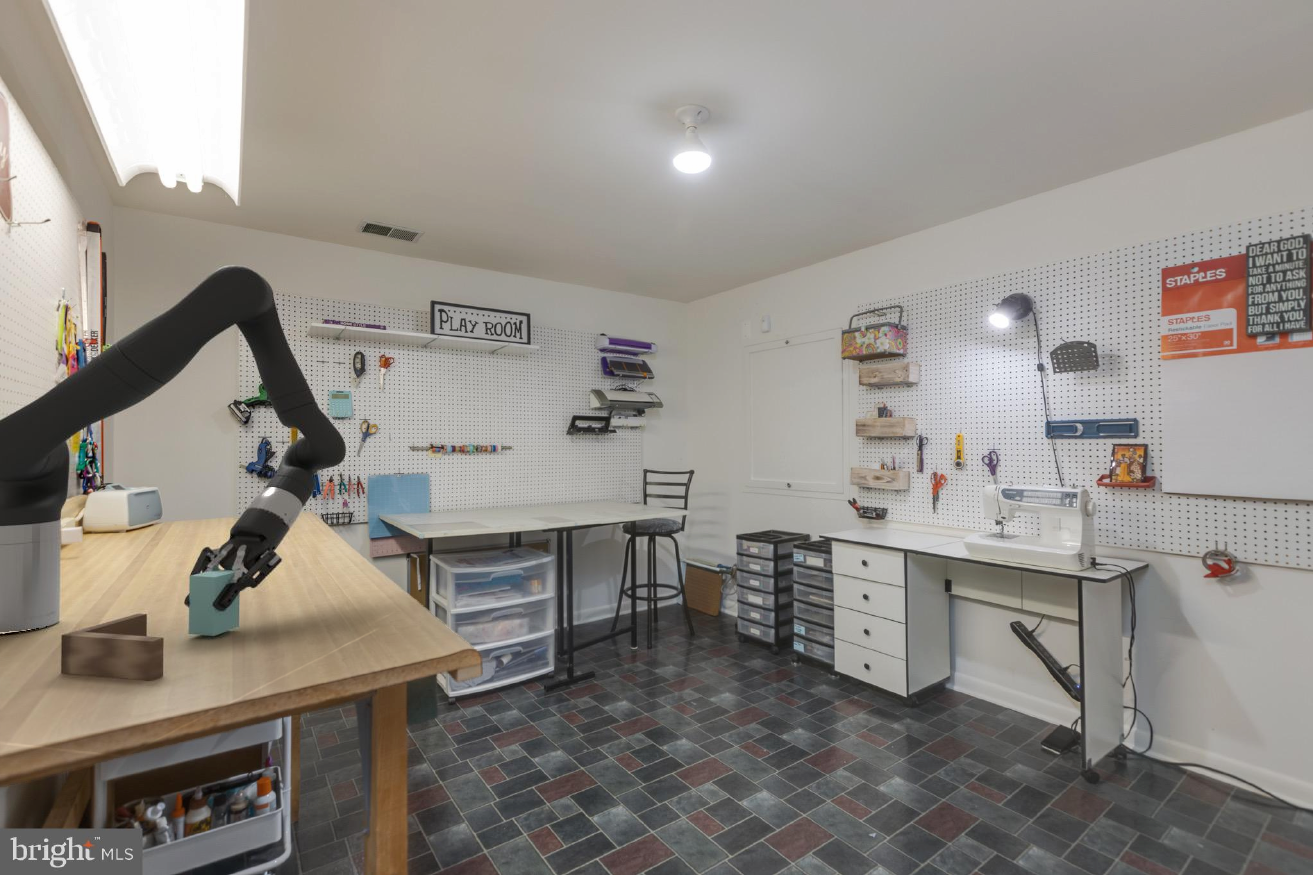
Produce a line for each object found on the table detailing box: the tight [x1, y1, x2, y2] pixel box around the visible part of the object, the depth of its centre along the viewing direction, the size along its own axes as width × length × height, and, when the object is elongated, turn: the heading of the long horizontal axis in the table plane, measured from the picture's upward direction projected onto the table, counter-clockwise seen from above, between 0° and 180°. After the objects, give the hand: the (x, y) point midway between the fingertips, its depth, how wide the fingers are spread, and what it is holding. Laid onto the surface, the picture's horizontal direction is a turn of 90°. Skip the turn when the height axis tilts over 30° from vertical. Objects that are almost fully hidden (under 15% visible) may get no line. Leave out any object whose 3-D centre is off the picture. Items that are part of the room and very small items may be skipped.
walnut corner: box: [60, 613, 165, 681], centre depth 81 cm, size 14×10×5 cm
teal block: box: [188, 569, 241, 637], centre depth 93 cm, size 4×4×9 cm
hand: (204, 607), depth 91 cm, fingers closed on teal block, 4 cm apart
